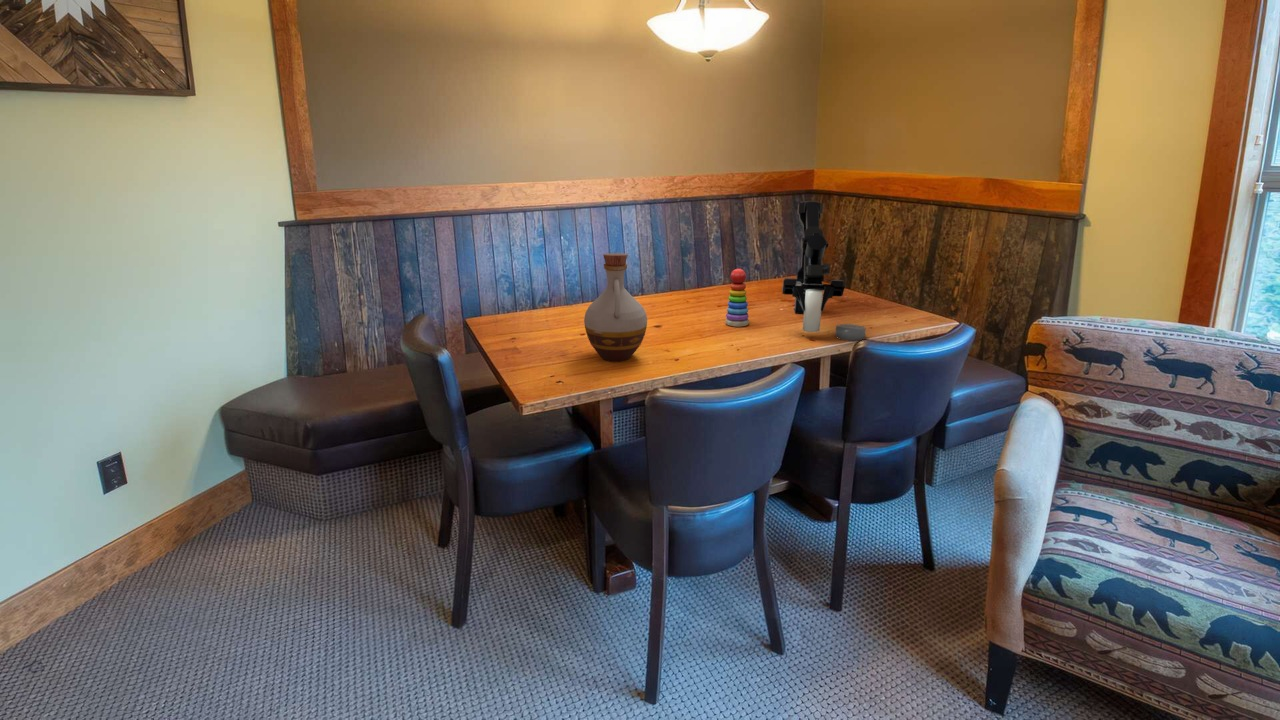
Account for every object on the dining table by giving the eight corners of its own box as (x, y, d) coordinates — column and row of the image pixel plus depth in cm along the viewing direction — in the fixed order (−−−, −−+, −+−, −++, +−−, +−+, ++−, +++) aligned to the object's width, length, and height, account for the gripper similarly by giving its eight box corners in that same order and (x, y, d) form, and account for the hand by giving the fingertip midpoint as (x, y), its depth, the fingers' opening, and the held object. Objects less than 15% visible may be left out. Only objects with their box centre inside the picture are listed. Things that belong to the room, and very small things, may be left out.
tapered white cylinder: (803, 331, 225) (806, 292, 222) (801, 327, 230) (804, 288, 226) (820, 332, 225) (823, 293, 221) (818, 327, 230) (821, 289, 226)
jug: (650, 368, 198) (651, 260, 189) (585, 370, 197) (583, 260, 188) (644, 347, 217) (644, 247, 208) (584, 348, 216) (582, 248, 206)
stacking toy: (751, 322, 245) (753, 267, 240) (746, 328, 238) (749, 272, 232) (728, 320, 248) (730, 266, 242) (722, 326, 241) (725, 270, 235)
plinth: (837, 340, 225) (838, 331, 224) (833, 332, 234) (834, 323, 233) (867, 341, 224) (868, 332, 223) (862, 333, 233) (862, 324, 232)
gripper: (785, 252, 225) (784, 295, 218) (847, 254, 223) (848, 297, 216) (782, 272, 235) (781, 314, 228) (841, 274, 233) (842, 316, 226)
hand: (813, 310), depth 224 cm, fingers closed on tapered white cylinder, 5 cm apart
